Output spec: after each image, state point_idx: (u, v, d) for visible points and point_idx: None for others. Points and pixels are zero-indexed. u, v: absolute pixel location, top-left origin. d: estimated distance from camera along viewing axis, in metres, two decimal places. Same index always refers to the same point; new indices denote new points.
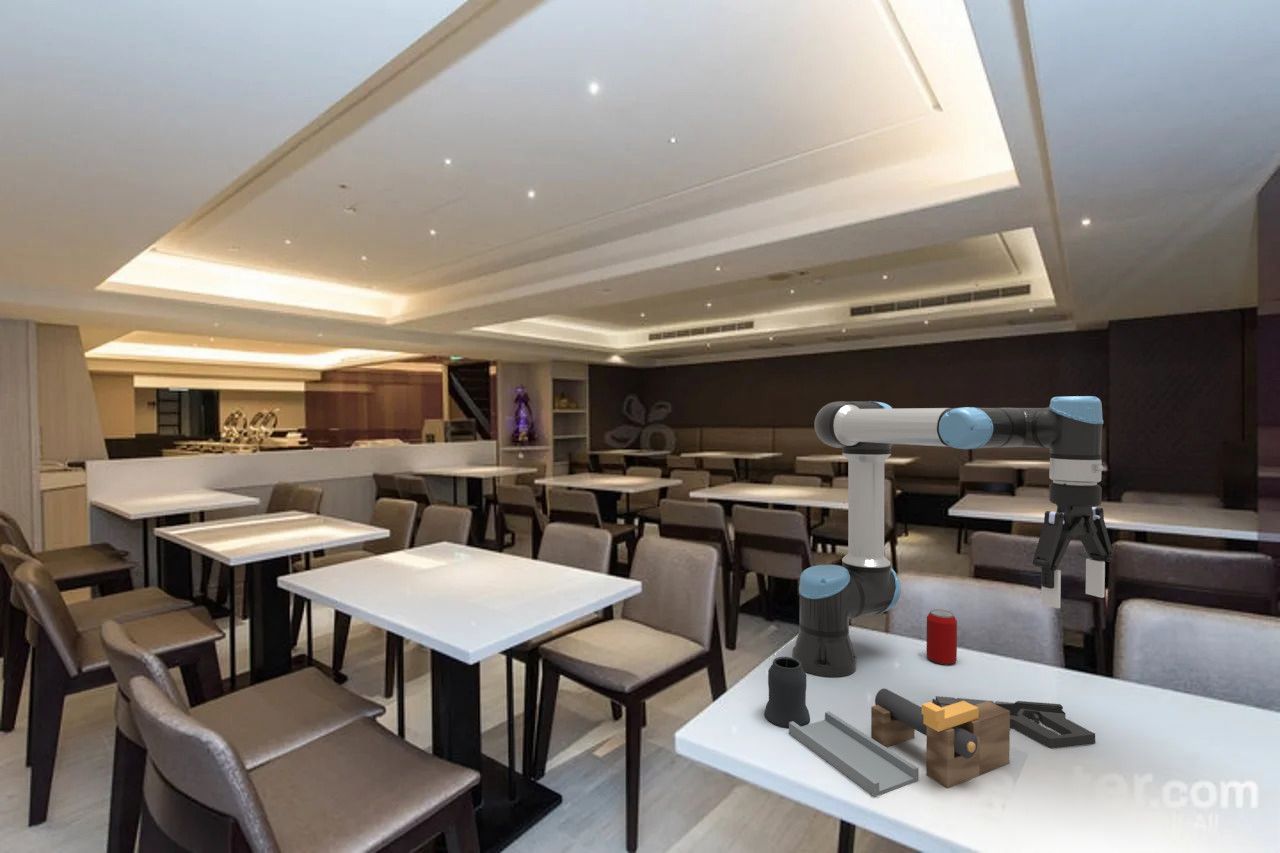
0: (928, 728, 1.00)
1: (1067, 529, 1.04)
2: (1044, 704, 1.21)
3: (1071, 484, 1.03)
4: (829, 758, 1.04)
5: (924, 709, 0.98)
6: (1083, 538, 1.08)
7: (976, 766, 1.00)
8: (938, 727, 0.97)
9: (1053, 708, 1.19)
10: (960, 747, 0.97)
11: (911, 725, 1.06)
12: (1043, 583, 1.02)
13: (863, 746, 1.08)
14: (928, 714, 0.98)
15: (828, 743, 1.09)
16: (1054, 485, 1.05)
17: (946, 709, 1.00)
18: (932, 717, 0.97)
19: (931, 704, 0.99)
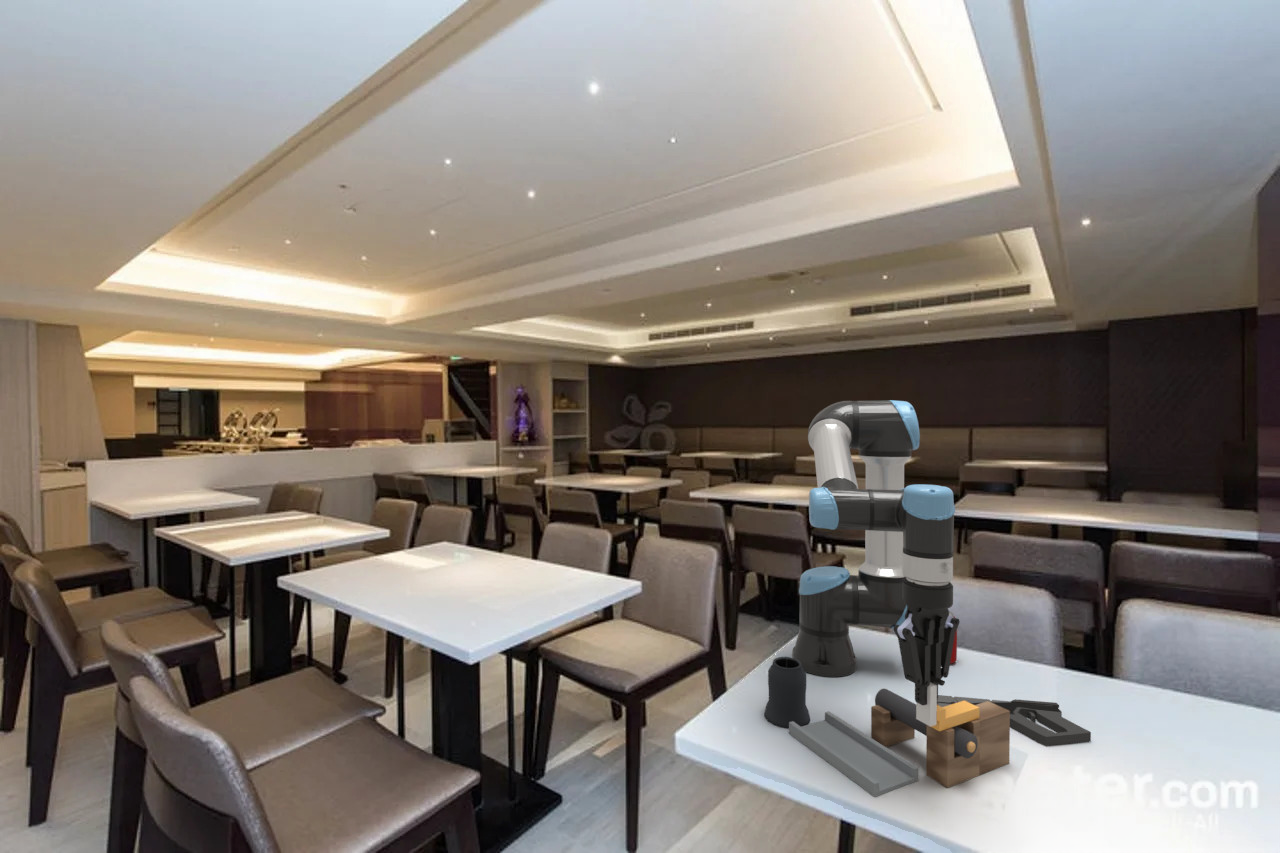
0: (928, 728, 1.00)
1: (917, 632, 0.96)
2: (1040, 702, 1.22)
3: (920, 584, 0.95)
4: (829, 758, 1.04)
5: None
6: None
7: (976, 766, 1.00)
8: (939, 727, 0.97)
9: (1050, 706, 1.20)
10: (960, 747, 0.97)
11: (911, 725, 1.06)
12: (916, 698, 0.97)
13: (863, 746, 1.08)
14: None
15: (828, 743, 1.09)
16: (905, 582, 0.97)
17: (947, 709, 1.00)
18: None
19: None
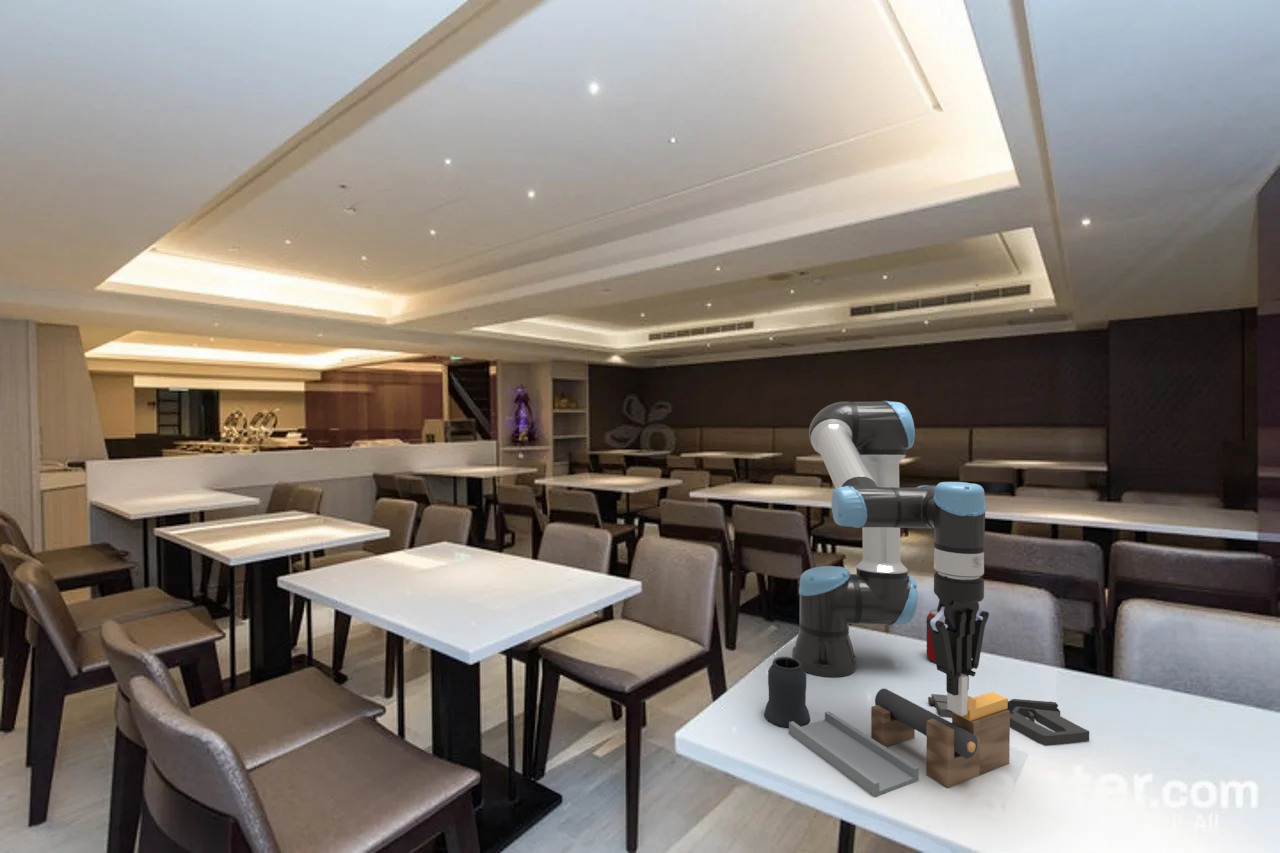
0: (928, 728, 1.00)
1: (949, 625, 0.99)
2: (1039, 702, 1.22)
3: (952, 578, 0.98)
4: (829, 758, 1.04)
5: None
6: None
7: (976, 766, 1.00)
8: (970, 717, 1.00)
9: (1048, 706, 1.20)
10: (960, 747, 0.97)
11: (911, 725, 1.06)
12: (947, 689, 1.00)
13: (863, 746, 1.08)
14: None
15: (828, 743, 1.09)
16: (937, 576, 1.00)
17: (977, 700, 1.03)
18: None
19: None
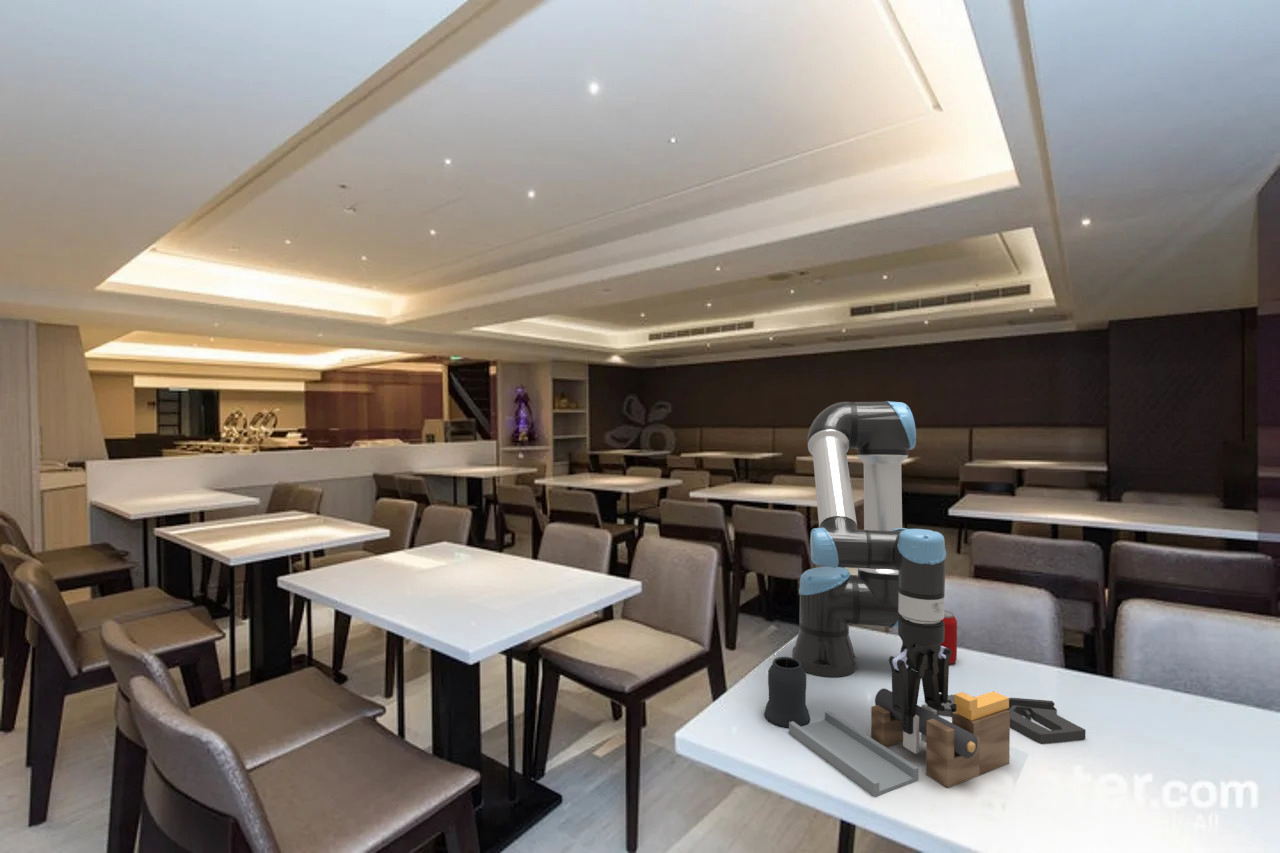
0: (928, 728, 1.00)
1: (911, 666, 1.04)
2: (1036, 701, 1.23)
3: (914, 622, 1.04)
4: (829, 758, 1.04)
5: (957, 699, 1.02)
6: (924, 676, 1.07)
7: (976, 766, 1.00)
8: (971, 716, 1.00)
9: (1045, 704, 1.21)
10: (959, 747, 0.97)
11: None
12: (903, 728, 1.05)
13: (863, 746, 1.08)
14: (961, 704, 1.01)
15: (828, 743, 1.09)
16: (900, 620, 1.06)
17: (978, 699, 1.04)
18: (965, 706, 1.00)
19: (964, 694, 1.02)
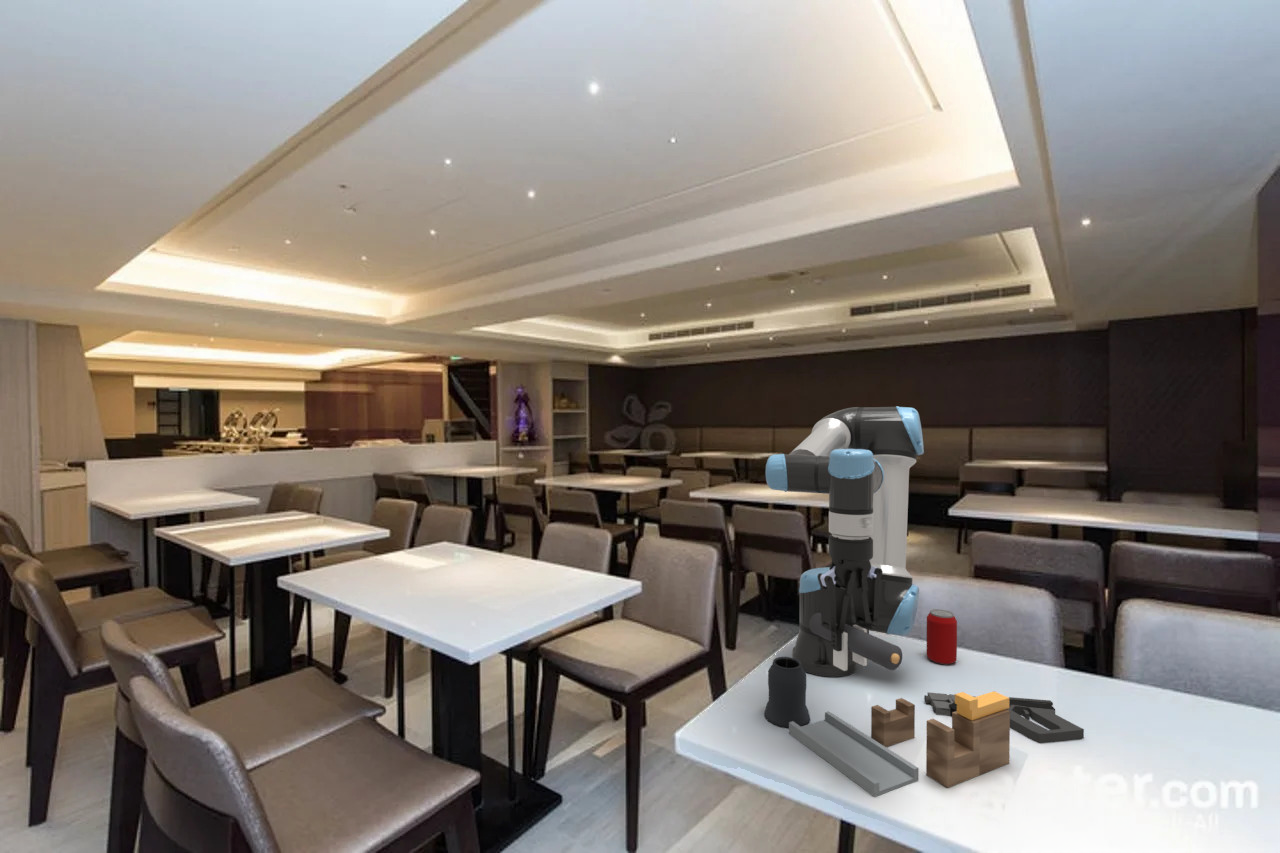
0: (928, 728, 1.00)
1: (840, 583, 1.04)
2: (1034, 700, 1.23)
3: (842, 538, 1.03)
4: (829, 758, 1.04)
5: (958, 699, 1.02)
6: (854, 596, 1.07)
7: (976, 766, 1.00)
8: (971, 716, 1.00)
9: (1043, 704, 1.21)
10: (883, 658, 0.97)
11: None
12: (832, 645, 1.05)
13: (863, 746, 1.08)
14: (962, 703, 1.01)
15: (828, 743, 1.09)
16: (830, 538, 1.06)
17: (978, 699, 1.04)
18: (966, 706, 1.00)
19: (965, 694, 1.02)
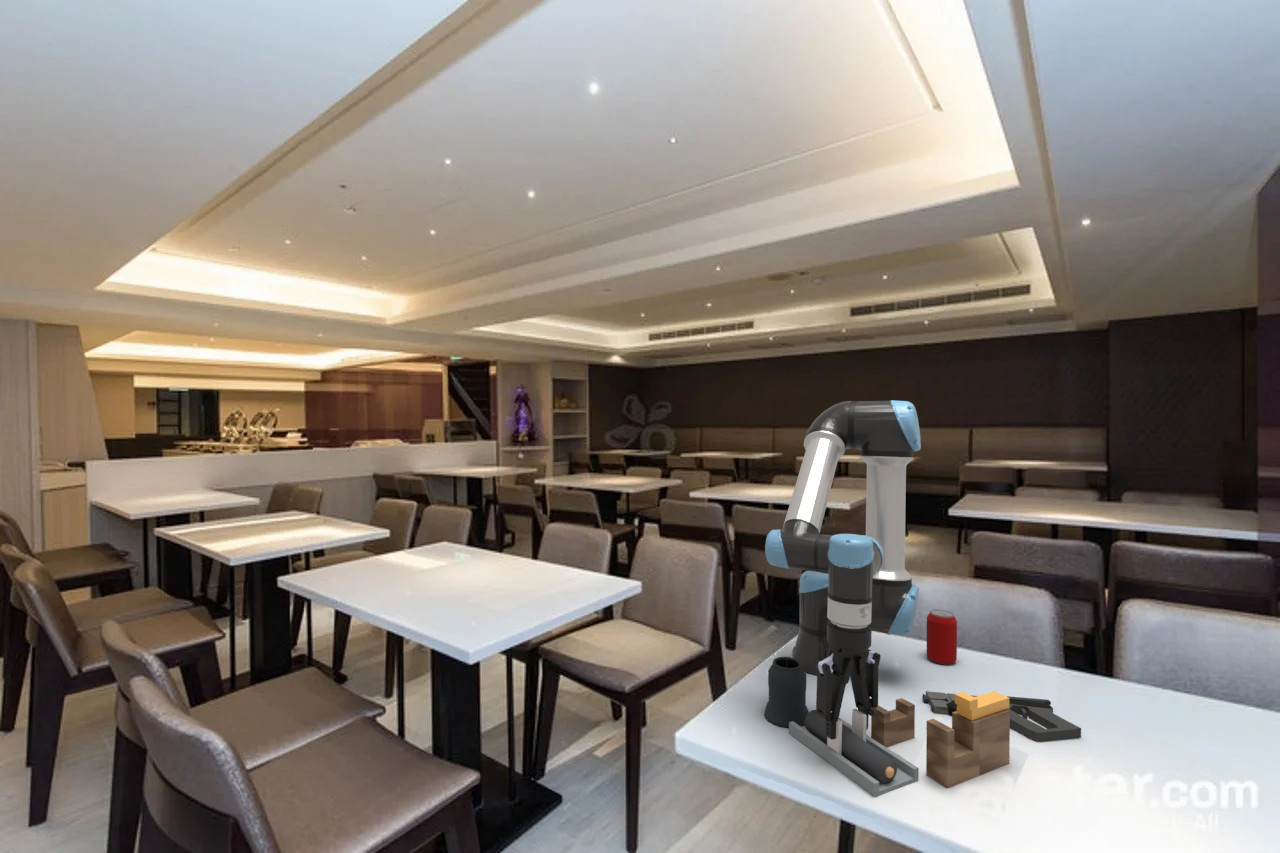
0: (928, 728, 1.00)
1: (838, 671, 1.04)
2: (1032, 699, 1.23)
3: (840, 626, 1.04)
4: (829, 758, 1.04)
5: (958, 699, 1.02)
6: (853, 681, 1.07)
7: (976, 766, 1.00)
8: (971, 716, 1.00)
9: (1041, 703, 1.21)
10: (878, 778, 0.97)
11: None
12: (826, 733, 1.04)
13: None
14: (962, 703, 1.01)
15: None
16: (828, 624, 1.06)
17: (978, 699, 1.04)
18: (966, 706, 1.00)
19: (965, 694, 1.02)
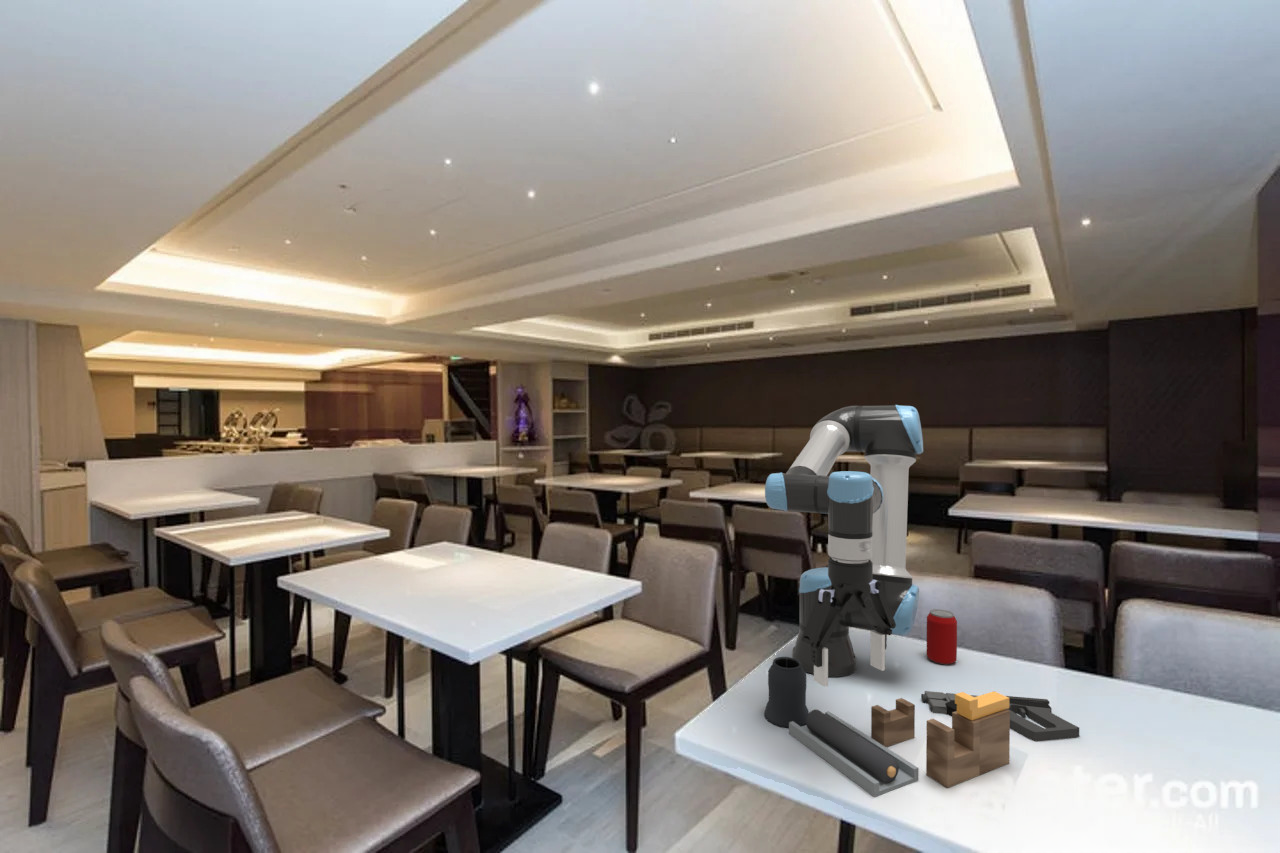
0: (928, 728, 1.00)
1: (839, 606, 1.04)
2: (1031, 699, 1.23)
3: (841, 562, 1.03)
4: (829, 758, 1.04)
5: (958, 699, 1.02)
6: (864, 611, 1.08)
7: (976, 766, 1.00)
8: (971, 716, 1.00)
9: (1040, 703, 1.22)
10: (880, 775, 0.97)
11: (839, 750, 1.06)
12: (812, 661, 1.03)
13: None
14: (962, 703, 1.01)
15: (828, 743, 1.09)
16: (829, 561, 1.06)
17: (978, 699, 1.04)
18: (966, 706, 1.00)
19: (965, 694, 1.02)
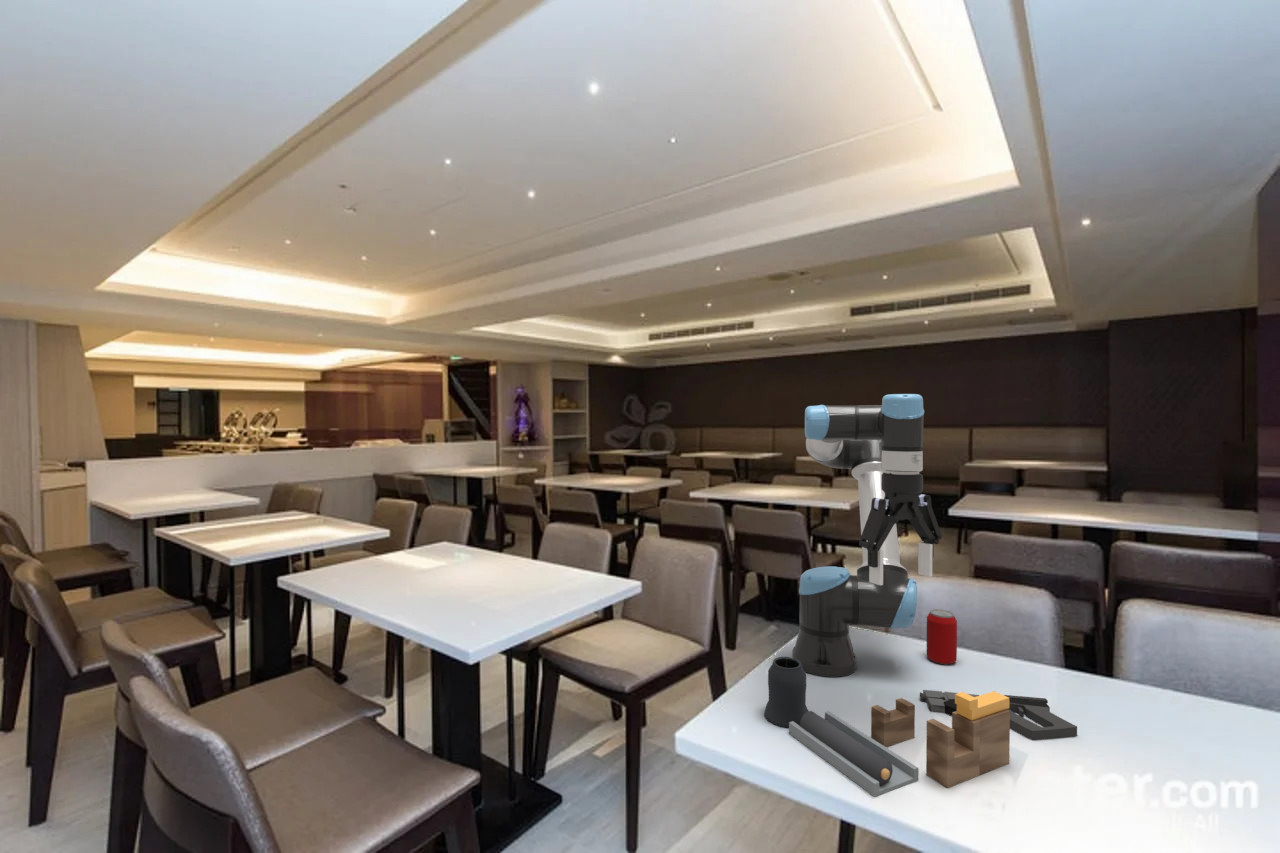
0: (928, 728, 1.00)
1: (893, 514, 1.15)
2: (1029, 698, 1.24)
3: (895, 473, 1.14)
4: (829, 758, 1.04)
5: (958, 699, 1.02)
6: (913, 523, 1.19)
7: (976, 766, 1.00)
8: (971, 716, 1.00)
9: (1038, 702, 1.22)
10: None
11: None
12: (868, 563, 1.13)
13: None
14: (962, 703, 1.01)
15: None
16: (883, 474, 1.16)
17: (978, 699, 1.04)
18: (966, 706, 1.00)
19: (965, 694, 1.02)
